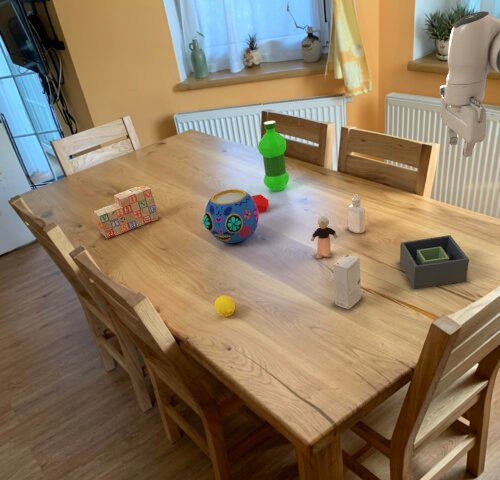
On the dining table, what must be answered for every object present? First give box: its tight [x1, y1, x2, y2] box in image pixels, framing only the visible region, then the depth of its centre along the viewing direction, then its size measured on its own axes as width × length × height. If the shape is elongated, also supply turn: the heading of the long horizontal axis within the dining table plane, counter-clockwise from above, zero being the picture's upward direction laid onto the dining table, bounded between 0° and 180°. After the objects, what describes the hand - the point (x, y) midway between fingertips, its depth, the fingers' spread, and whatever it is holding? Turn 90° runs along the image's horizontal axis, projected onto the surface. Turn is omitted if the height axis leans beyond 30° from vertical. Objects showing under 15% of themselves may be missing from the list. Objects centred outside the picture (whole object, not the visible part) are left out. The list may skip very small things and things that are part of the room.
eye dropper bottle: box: [347, 193, 366, 234], centre depth 154 cm, size 4×6×12 cm
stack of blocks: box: [93, 184, 160, 239], centre depth 183 cm, size 21×6×12 cm, turn 123°
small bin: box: [416, 247, 449, 265], centre depth 132 cm, size 6×6×5 cm
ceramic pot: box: [202, 188, 260, 244], centre depth 162 cm, size 18×18×15 cm
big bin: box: [399, 235, 470, 290], centre depth 132 cm, size 13×13×7 cm
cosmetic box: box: [332, 253, 362, 310], centre depth 125 cm, size 6×4×12 cm
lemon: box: [213, 295, 236, 317], centre depth 131 cm, size 7×5×5 cm
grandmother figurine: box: [310, 216, 338, 259], centre depth 145 cm, size 8×4×13 cm, turn 99°
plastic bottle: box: [257, 120, 290, 192], centre depth 187 cm, size 10×10×25 cm
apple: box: [250, 194, 270, 214], centre depth 179 cm, size 7×7×8 cm
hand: (459, 149), depth 128 cm, fingers open, 8 cm apart
